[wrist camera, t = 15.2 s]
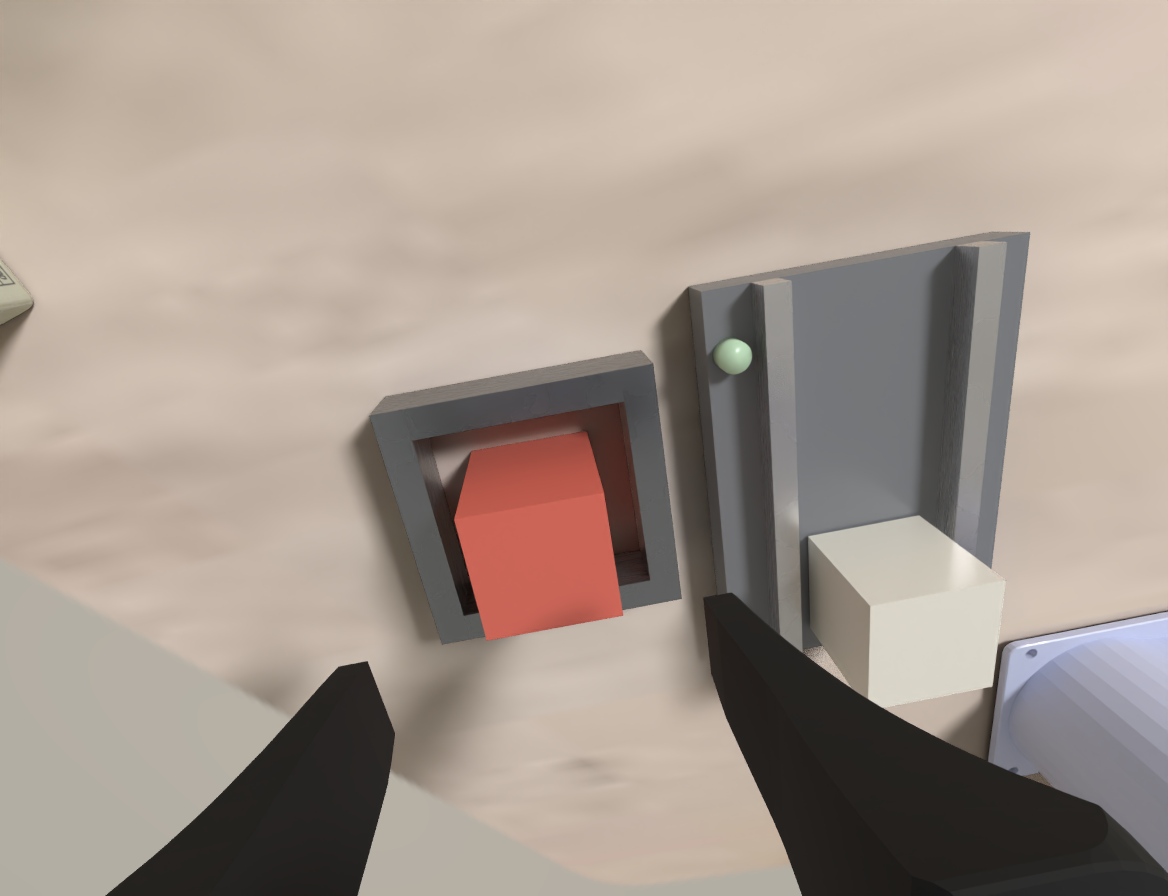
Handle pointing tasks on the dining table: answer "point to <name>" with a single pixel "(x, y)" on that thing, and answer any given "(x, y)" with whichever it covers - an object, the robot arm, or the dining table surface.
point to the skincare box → (12, 295)
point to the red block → (537, 536)
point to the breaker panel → (854, 406)
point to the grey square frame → (514, 399)
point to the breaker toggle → (904, 610)
